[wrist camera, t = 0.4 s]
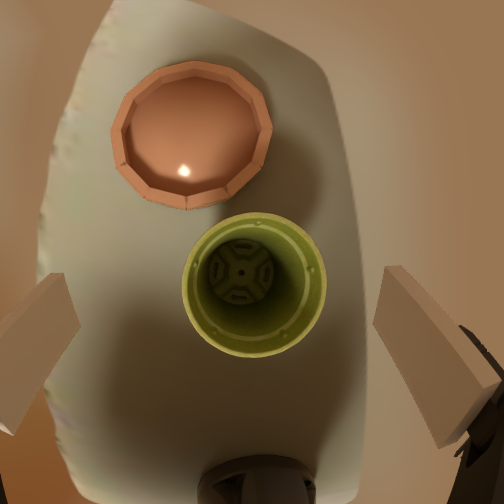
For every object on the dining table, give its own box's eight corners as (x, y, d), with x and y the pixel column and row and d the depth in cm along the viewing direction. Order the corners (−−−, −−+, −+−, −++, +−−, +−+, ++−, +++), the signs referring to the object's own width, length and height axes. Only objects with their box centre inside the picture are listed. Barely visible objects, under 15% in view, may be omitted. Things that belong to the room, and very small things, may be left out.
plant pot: (295, 224, 27) (332, 218, 19) (287, 322, 28) (319, 356, 19) (193, 217, 26) (186, 207, 17) (189, 319, 26) (180, 355, 18)
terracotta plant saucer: (243, 226, 26) (246, 225, 24) (100, 189, 24) (91, 185, 22) (280, 95, 26) (286, 84, 24) (150, 65, 24) (146, 52, 22)
